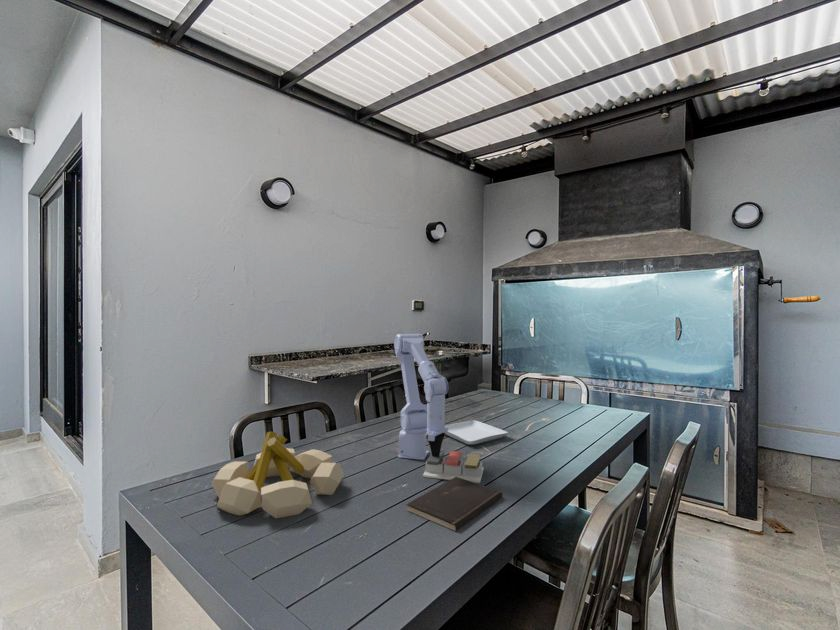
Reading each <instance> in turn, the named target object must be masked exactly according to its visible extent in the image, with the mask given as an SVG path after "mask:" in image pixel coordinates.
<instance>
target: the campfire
mask: <svg viewBox="0 0 840 630" xmlns="http://www.w3.org/2000/svg"><path fill="white" fill-rule="evenodd" d="M287 441H288V438H286V437H285V436H283V435H282V434H279V435H278V434H277V432H275V431H267V432H266V435H265V439H264V441H263V445H262V449H261V452H260V453H258V454H256V455H255V459H254V463H253V467H252V468H251V470H250V464H249V461H236V460H235V461H231V462H229V463H226V464H225V465H224V466H222V467H221V468H220V469H219V470H218V472H217V474H216V475H215V476H214V478H213V480H212V481H211V484H210V485H212V488H213V489H214V492H215V493H216V494H217V496H218V497H217V498H218V501H217V503H216V504H217V505H216V507H217V508H218V509H220V510H222V511H224V512H226V513H229V514H232V515H236V516H239V517H240V516H244V515H246V514H249V513H251V512H252V511H255V510H256V509H258V508H259V507H261V506H262V507H261V508H262V510H263V511H265V512H266V513H267V514H268V515H269V516H271V517H272V518H275V519H280V518H286V517H291V516H296V515H300V514H302V513H303V512H304V511H306V509H308V508H309V506H311V505H313V501H312V498H311V494H310V491H309V488H308V485H307V482H304V481H299V480H295V479H294V478H293V477H294V476H293V475H292V473H291V471H290V469H292V470H293V471H294V472H295V473H296V474H297V475H300V477H303V478H306V479H310V480H309V484H310V485H311V487H312V488H313V490H314V492H315V494H316V495H320V496H321V495H324V496H332V495H334V494H335V492H336V490H337V488H338V486H339V485H340V483H341V481H342V480H343V478H344V475H345V473H344V470H343V469H342V467H341V465H340V462H332V458H333V455H331V454H329V453H327V452H325V451H322V450H318V449H310V450H306V451H304V452H302V453H299V454H297V455H296V454H295V453H296V452H295V449H294V448H289V447H288V448H287V447H286V446H284V444H285V443H286V442H287ZM277 476H280V478H281V481H277V482H275V483H271V484H268V485H265V482H266V478H273V477H277Z"/></svg>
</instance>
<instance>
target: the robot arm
mask: <svg viewBox="0 0 840 630" xmlns="http://www.w3.org/2000/svg"><path fill="white" fill-rule="evenodd" d="M393 346H394V347H393V348H394V352H395V357H396V358H397V359H398V360H399V361H400V367H401V368H400V369H401V373H402V374H401V375H402V381H403V386H404V387H403V389H404V393H405V394H404V395H405V401H406V404H405V405H404V407H402V409H401V410H400V426H401V430H399V433H398V456H397V457H398V458H401V459H402V458H403V459H413V460H421V461H422V460H425V459H426V457H427V456H428V454H429V450H427V449H426V444H427V442H428V444H429V448H430V453H431V454H432V456H433V457H439V455H440V451H442V444H443V441H444V438H445V437H446V434H445V433H443V432H448V428H445V422H446V395H447V394H448V392H449V382H448V380H447V378H446V377H445V376H443V375H442V374H440V372H439V371H438V369H437V368H436V365H435V364H434V362H433V361H431V360H429V359H428V356H427V354H426V351H425V348H424V346H425V341H424V337H423V335H422V334H421V333H419V332H418V333H401V334H400V333H397V334H396V335H395V337H394V342H393ZM414 361H416V362H417V364H418V368H417V370H418V373H419V375H420V377H421V379H422V381H423V383H424V386H423V391H424V394H425V401H426V403H427V405H425V404H424V403H423V402H421V399H420V391H419V387H418V381H417V380H418V379H417V375H416V368H415V363H414ZM426 433H427V434H426ZM426 441H427V442H426Z"/></svg>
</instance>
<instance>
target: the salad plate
mask: <svg viewBox="0 0 840 630" xmlns="http://www.w3.org/2000/svg"><path fill="white" fill-rule="evenodd" d="M445 428H448V432H443V433H445V436H448V437H450V438H452V439H455V440H457V441H459V442H461V443H464V444H466V445H469V446H471V445H472V446H473V445H478V444H482V443H487V442H490V441H494V440H498V439H501V438H503V437H505V436H507V435H508V433H509V432H508V431H506V430H504V429H501V428H498V427H495V426H493V425H490V424H487V423H484V422H481V421H479V420H475V419H472V420H467V421H460V422H456V423H450V424H446V425H445Z"/></svg>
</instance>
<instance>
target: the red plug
mask: <svg viewBox="0 0 840 630" xmlns="http://www.w3.org/2000/svg"><path fill="white" fill-rule="evenodd" d="M462 455H463V451H459V450H456V451H455V450H451V451H450V452H449V454H448V456H447V458H446V465H452V466H458V462H459V460H461V458H462Z"/></svg>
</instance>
